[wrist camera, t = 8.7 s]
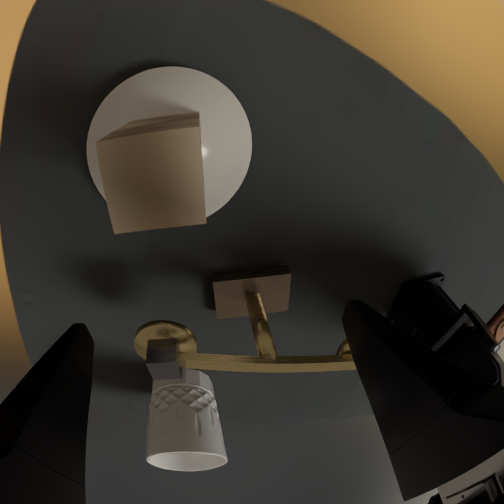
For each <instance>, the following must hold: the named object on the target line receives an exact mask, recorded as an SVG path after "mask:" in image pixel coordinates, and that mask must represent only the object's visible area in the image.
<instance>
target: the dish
mask: <svg viewBox="0 0 504 504" xmlns="http://www.w3.org/2000/svg"><path fill="white" fill-rule="evenodd" d="M197 112H199V114H200V132H201V147H202V162H203V175H204V192H205V209H206V217H208V216H210V215H211V214H213V213H215V212H216V211H217V210H219V209H220V208H221V207H223V206H224V205H225V204H226V203H227V202H228V201H229V200H230V199H231V198H232V196H233V195H234V194H235V193H236V192H237V190H238V188H239V187H240V185H241V184H242V182H243V180H244V178H245V176H246V173H247V170H248V167H249V164H250V159H251V153H252V136H251V130H250V125H249V121H248V119H247V116H246V113H245V111H244V109H243V107H242V106H241V104H240V102H239V101H238V100H237V98H236V97H235V96H234V94H233V93H232V92H231V91H230V90H229V89H228V88H227V87H226V86H225V85H223V84H222V83H221V82H219V81H218V80H217V79H215V78H213V77H211V76H209V75H208V74H206V73H203V72H200V71H197V70H194V69H190V68H185V67H173V66H171V67H159V68H154V69H149V70H146V71H143V72H141V73H138V74H136V75H134V76H132V77H130V78H128V79H126V80H125V81H124V82H122V83H121V84H119V85H118V86H117V87H116V88H115V89H114V90H112V91H111V92H110V93H109V94H108V96H107V97H106V98H105V99H104V100H103V102H102V103H101V105H100V106H99V108H98V109H97V111H96V113H95V115H94V117H93V120H92V122H91V125H90V129H89V132H88V138H87V161H88V166H89V170H90V174H91V177H92V179H93V181H94V184H95V185H96V187H97V189H98V191H99V192H100V194H101V195H102V196H103V198H104V199H105V200H106V197H105V192H104V188H103V183H102V178H101V172H100V167H99V162H98V156H97V150H96V143H95V142H97V141H98V140H100V139H101V138H103V137H105V136H106V135H108V134H109V133H111V132H113V131H114V130H116V129H118V128H119V127H121V126H123V125H125V124H126V123H128V122H130V121H135V120H141V119H148V118H154V117H161V116H169V115H177V114H186V113H197Z"/></svg>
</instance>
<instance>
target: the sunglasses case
mask: <svg viewBox="0 0 504 504" xmlns="http://www.w3.org/2000/svg"><path fill="white" fill-rule="evenodd" d="M487 326H488V328H489V329H490V331H491V332H492V334H493V336H494V337H495V339H496V340H497V342H499V341H500V340H501V339H502V338H503V337H504V305H503V306H502V307H501V309H500V310H499V311H498V312H497V313H496V314H495V316H494V317H493V318H492V319H491V320H490V321H489V322H488V323H487Z"/></svg>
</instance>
